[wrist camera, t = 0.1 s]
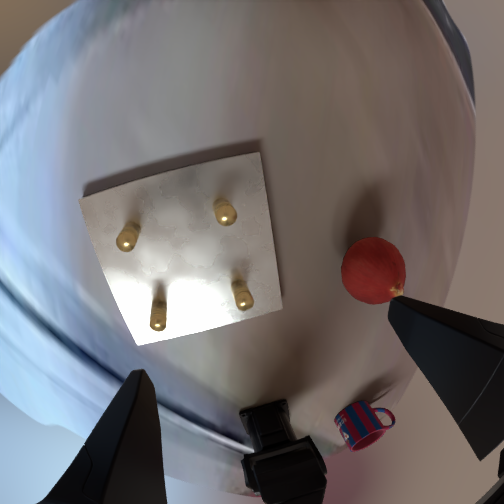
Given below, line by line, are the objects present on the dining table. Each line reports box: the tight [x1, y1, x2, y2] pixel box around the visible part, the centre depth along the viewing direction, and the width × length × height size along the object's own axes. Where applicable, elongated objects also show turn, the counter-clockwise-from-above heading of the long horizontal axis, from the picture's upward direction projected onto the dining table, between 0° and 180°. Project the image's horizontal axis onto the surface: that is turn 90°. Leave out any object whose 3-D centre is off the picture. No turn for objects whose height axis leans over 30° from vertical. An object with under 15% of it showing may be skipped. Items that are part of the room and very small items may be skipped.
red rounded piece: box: [341, 237, 406, 304], centre depth 22 cm, size 6×6×8 cm
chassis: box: [79, 152, 283, 345], centre depth 21 cm, size 14×14×4 cm
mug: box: [334, 401, 395, 452], centre depth 37 cm, size 7×10×7 cm
